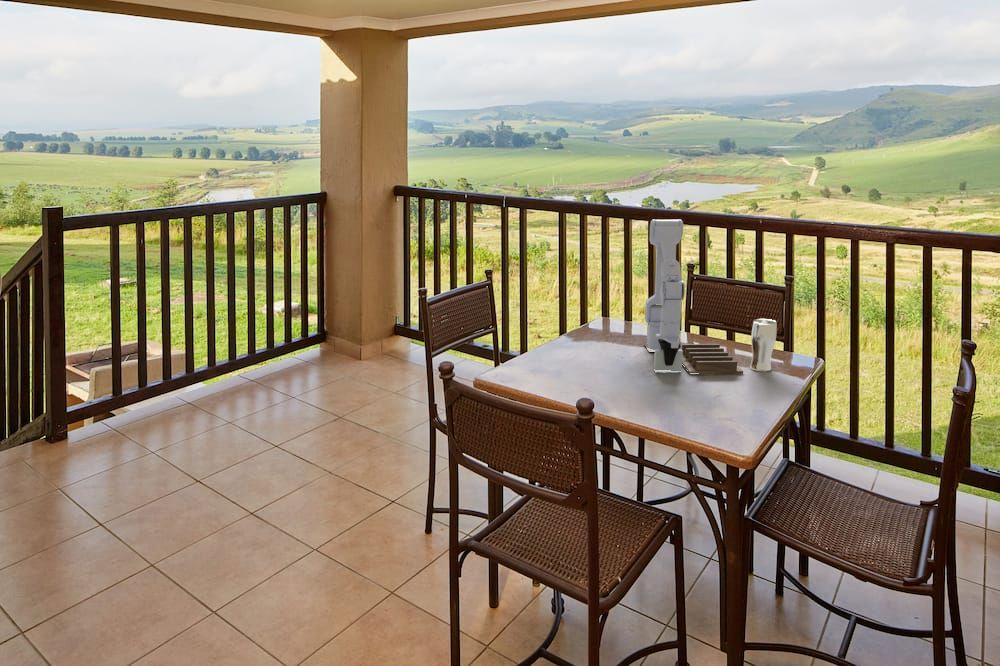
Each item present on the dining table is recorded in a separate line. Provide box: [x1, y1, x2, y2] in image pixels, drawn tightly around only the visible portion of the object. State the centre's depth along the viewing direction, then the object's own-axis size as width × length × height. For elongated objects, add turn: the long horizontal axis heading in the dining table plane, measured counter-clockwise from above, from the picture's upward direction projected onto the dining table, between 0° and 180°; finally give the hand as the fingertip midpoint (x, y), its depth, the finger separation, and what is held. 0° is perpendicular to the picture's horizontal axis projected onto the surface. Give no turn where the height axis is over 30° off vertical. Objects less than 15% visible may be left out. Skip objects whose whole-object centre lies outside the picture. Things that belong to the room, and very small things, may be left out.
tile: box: [653, 348, 683, 372], centre depth 197 cm, size 2×8×7 cm, turn 89°
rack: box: [681, 343, 744, 375], centre depth 203 cm, size 18×16×4 cm
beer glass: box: [749, 318, 778, 373], centre depth 197 cm, size 7×7×15 cm
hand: (667, 363), depth 197 cm, fingers closed on tile, 2 cm apart
